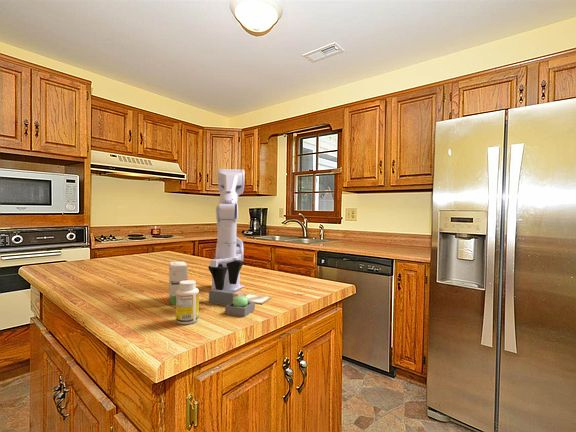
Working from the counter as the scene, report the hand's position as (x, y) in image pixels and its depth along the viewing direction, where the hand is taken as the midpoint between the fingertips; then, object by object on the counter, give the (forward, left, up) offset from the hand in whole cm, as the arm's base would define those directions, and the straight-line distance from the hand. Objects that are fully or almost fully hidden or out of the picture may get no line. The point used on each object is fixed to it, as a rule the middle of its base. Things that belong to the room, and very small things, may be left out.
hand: (226, 286), depth 95 cm
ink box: (-15, -4, -5) cm, 16 cm away
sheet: (+6, +7, -5) cm, 10 cm away
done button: (+8, -5, -4) cm, 10 cm away
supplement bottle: (-1, -17, -5) cm, 18 cm away
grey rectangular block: (0, 0, -5) cm, 5 cm away
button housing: (+8, -5, -5) cm, 11 cm away
